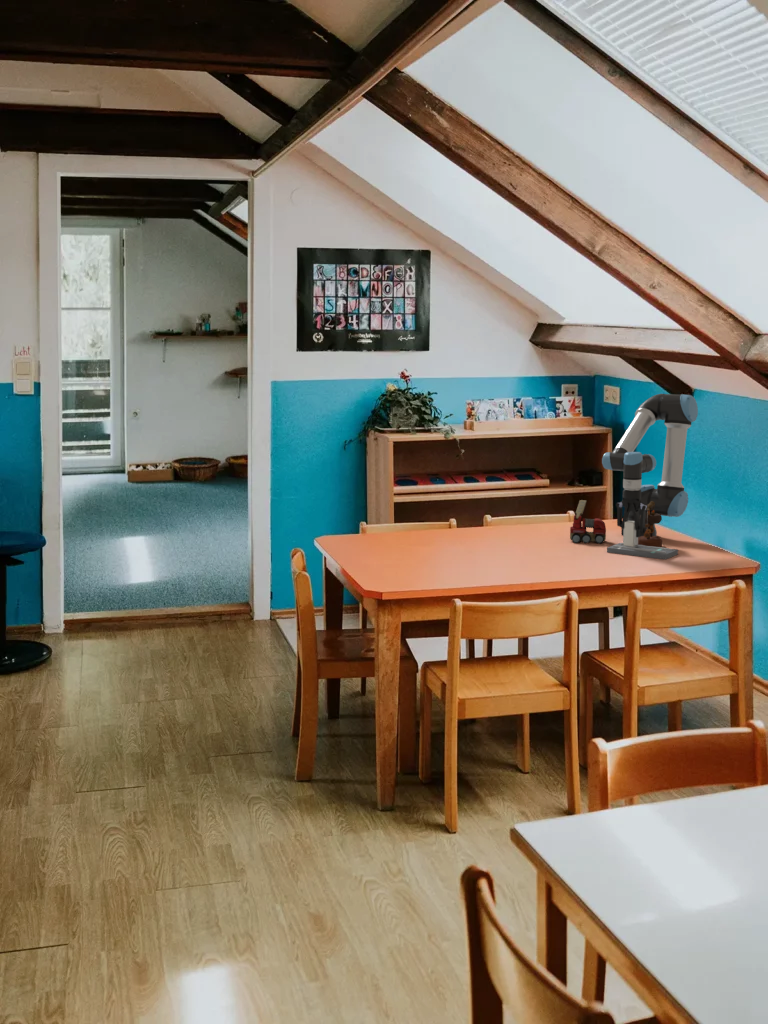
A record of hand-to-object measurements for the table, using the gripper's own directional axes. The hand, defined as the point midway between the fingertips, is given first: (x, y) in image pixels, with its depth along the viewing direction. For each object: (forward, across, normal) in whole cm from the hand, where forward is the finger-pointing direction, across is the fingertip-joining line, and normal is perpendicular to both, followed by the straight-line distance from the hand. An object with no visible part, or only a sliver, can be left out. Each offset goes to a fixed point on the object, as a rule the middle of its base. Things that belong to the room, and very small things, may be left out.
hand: (630, 543), depth 469 cm
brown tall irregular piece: (+4, +1, +17) cm, 17 cm away
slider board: (+3, +5, 0) cm, 6 cm away
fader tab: (+1, 0, 0) cm, 1 cm away
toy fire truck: (+4, -26, +12) cm, 28 cm away
